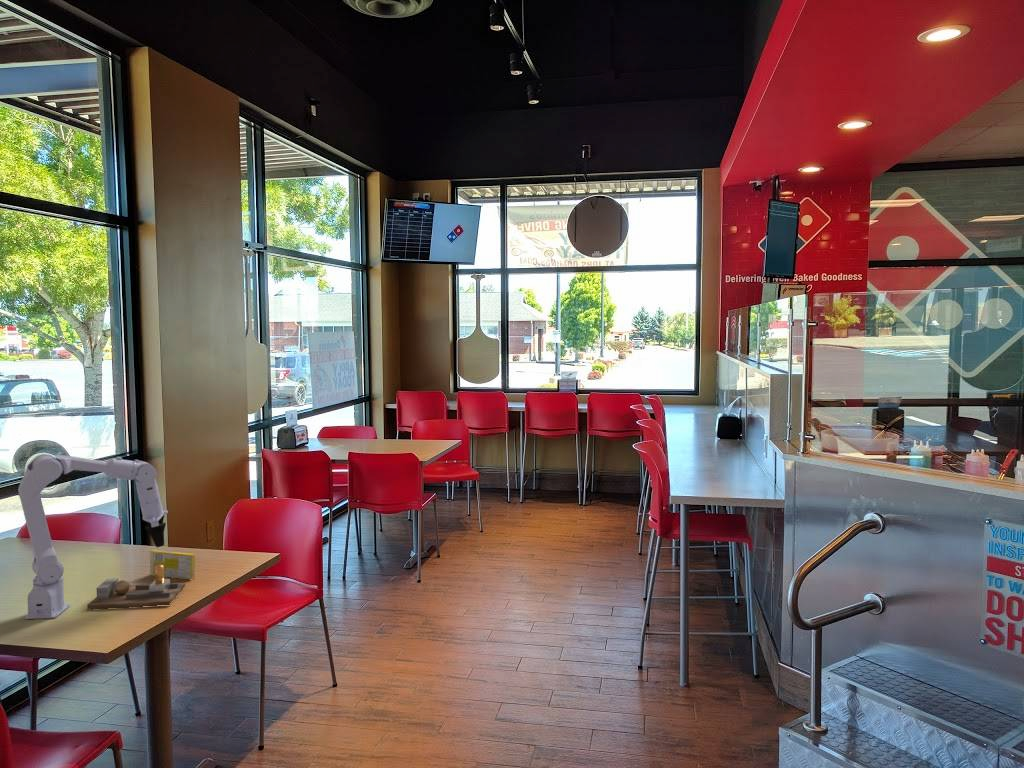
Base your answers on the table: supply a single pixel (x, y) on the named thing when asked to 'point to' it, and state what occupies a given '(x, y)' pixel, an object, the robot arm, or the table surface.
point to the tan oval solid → (122, 587)
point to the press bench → (132, 596)
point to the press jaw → (159, 581)
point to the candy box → (173, 564)
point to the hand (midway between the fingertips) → (159, 542)
